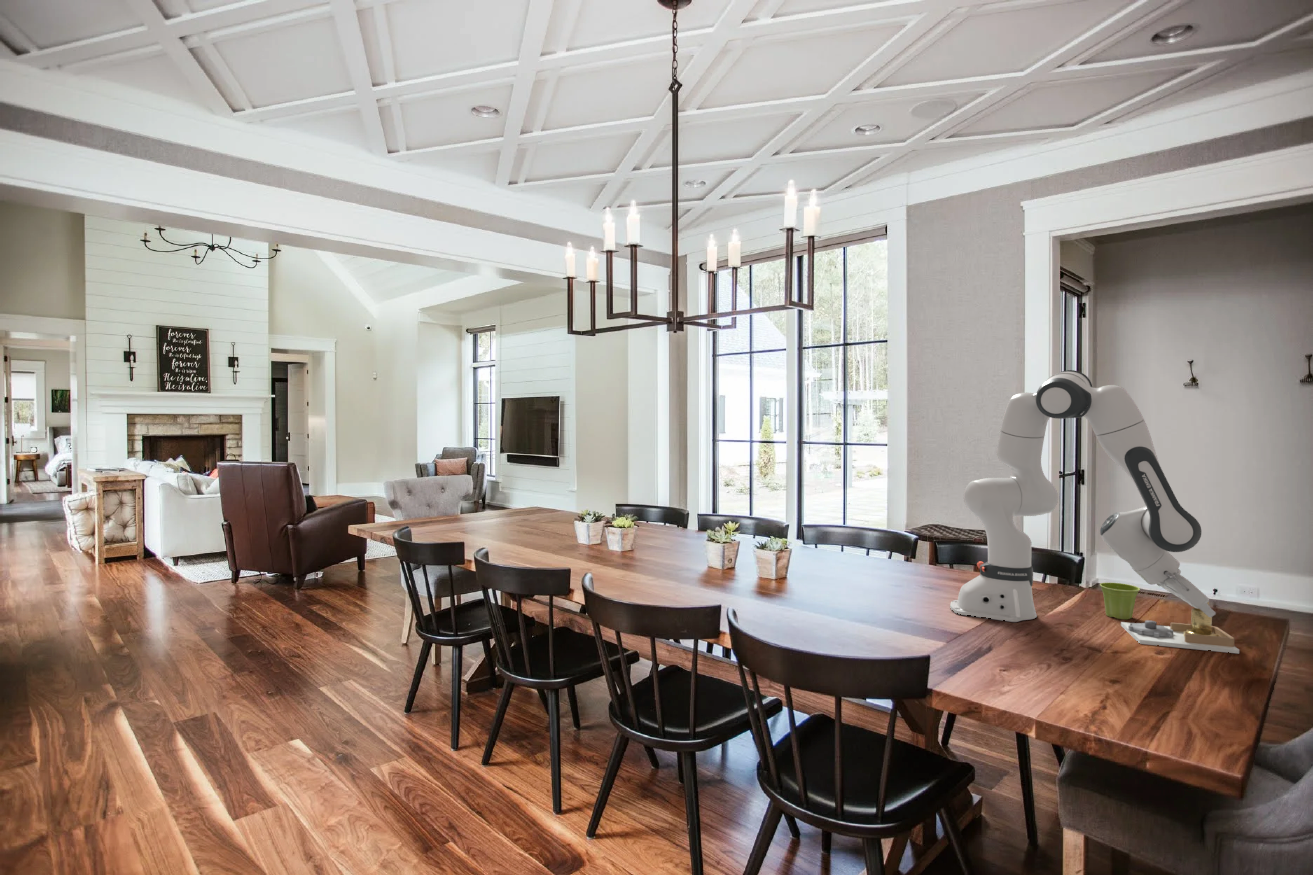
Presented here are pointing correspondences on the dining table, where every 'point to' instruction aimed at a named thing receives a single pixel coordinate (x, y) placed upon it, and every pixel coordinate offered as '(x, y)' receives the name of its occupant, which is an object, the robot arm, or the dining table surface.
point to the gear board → (1179, 636)
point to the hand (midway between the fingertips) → (1203, 609)
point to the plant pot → (1119, 599)
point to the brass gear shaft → (1200, 623)
